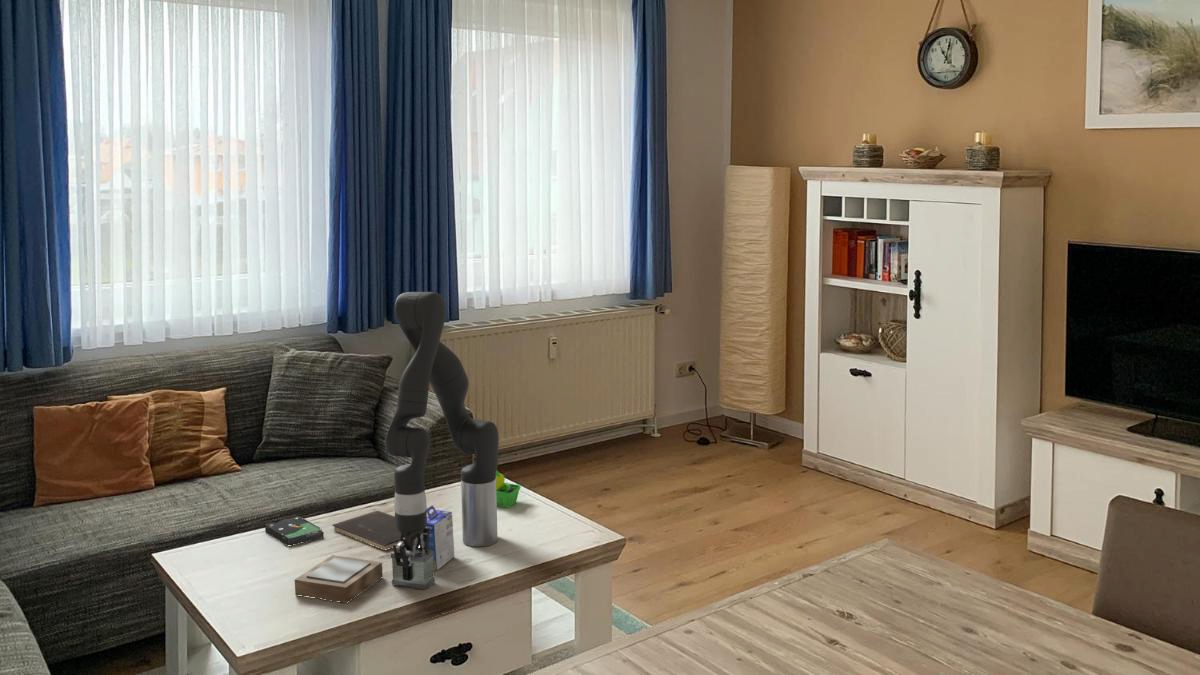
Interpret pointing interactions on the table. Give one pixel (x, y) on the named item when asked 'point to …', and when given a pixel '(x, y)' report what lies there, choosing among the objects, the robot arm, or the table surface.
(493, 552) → the table surface
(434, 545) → the ink cartridge box
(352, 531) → the hardcover book
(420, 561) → the box
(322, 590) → the walnut stand
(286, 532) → the disk drive
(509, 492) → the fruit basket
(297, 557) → the table surface
